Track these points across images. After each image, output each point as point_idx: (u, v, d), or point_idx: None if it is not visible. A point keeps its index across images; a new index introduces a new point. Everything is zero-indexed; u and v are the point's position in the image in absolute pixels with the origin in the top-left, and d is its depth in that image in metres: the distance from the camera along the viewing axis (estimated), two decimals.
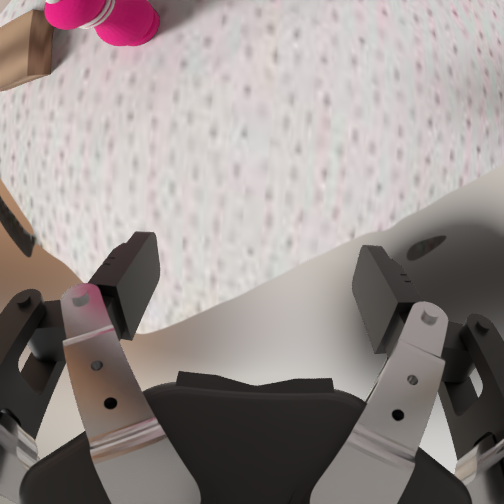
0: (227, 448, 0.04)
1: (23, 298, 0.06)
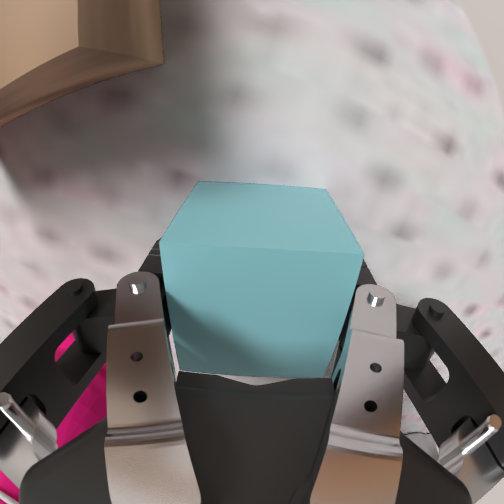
0: (227, 448, 0.04)
1: (74, 287, 0.07)
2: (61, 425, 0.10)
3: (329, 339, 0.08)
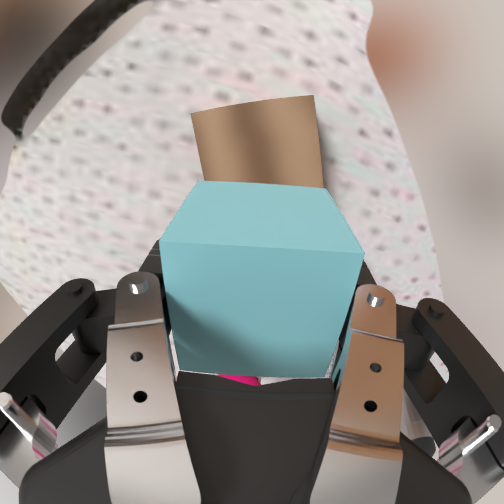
0: (228, 448, 0.04)
1: (74, 287, 0.07)
2: None
3: (329, 339, 0.08)
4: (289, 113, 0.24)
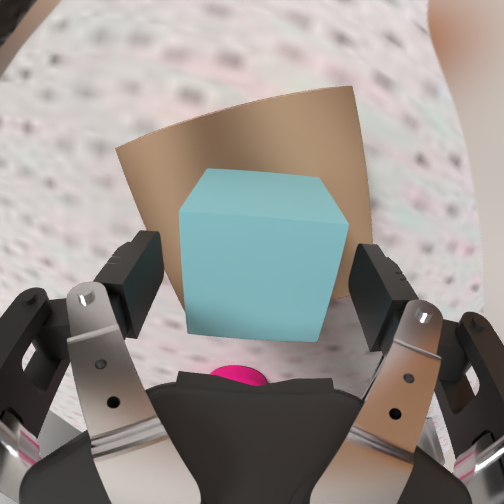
0: (227, 448, 0.04)
1: (28, 296, 0.06)
2: None
3: (321, 303, 0.10)
4: (308, 125, 0.12)
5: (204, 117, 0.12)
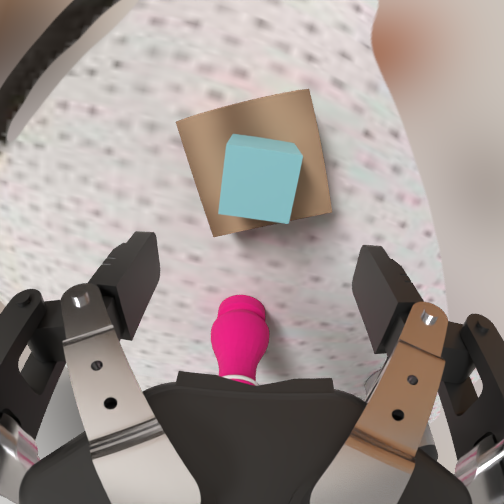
0: (227, 448, 0.04)
1: (23, 298, 0.06)
2: (257, 339, 0.32)
3: (290, 197, 0.20)
4: (284, 111, 0.21)
5: (229, 106, 0.21)
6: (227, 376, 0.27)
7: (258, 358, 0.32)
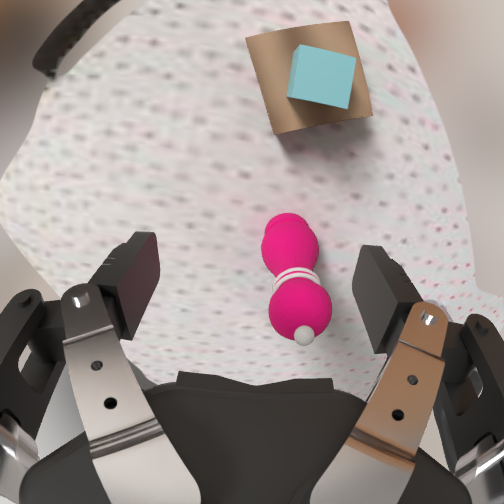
0: (228, 448, 0.04)
1: (23, 298, 0.06)
2: (310, 243, 0.34)
3: (348, 87, 0.22)
4: (332, 35, 0.23)
5: (289, 28, 0.23)
6: (290, 269, 0.29)
7: (313, 262, 0.33)
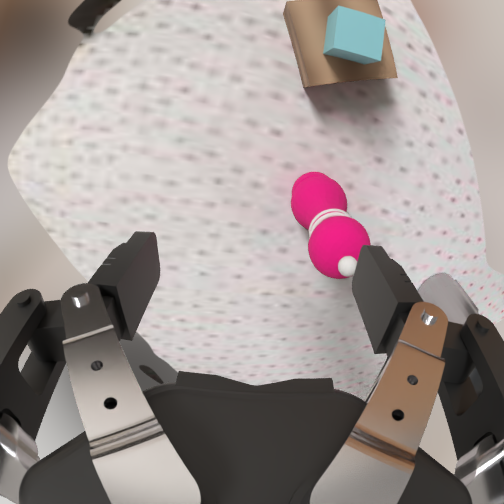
0: (227, 448, 0.04)
1: (22, 298, 0.06)
2: (341, 195, 0.34)
3: (380, 43, 0.21)
4: (362, 6, 0.23)
5: None
6: (327, 210, 0.29)
7: None
